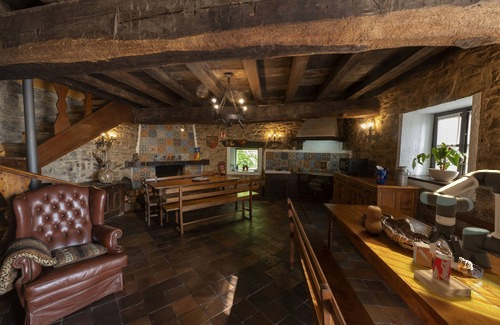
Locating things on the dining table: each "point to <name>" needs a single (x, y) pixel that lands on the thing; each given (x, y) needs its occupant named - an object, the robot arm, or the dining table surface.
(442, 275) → the soda can
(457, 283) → the square wooden board
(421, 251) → the small box
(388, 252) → the dining table surface
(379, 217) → the butternut squash
